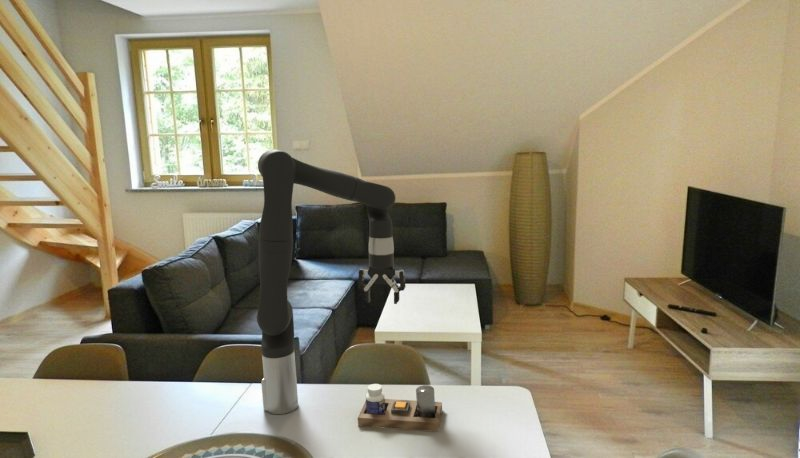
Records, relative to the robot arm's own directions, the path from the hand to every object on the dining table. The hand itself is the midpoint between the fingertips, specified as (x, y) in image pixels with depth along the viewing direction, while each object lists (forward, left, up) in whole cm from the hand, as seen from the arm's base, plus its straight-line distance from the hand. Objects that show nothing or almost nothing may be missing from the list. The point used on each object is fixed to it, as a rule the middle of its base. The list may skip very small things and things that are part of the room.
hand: (382, 302), depth 164 cm
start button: (+8, -18, -25) cm, 32 cm away
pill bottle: (+1, -18, -28) cm, 33 cm away
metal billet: (+15, -18, -27) cm, 36 cm away
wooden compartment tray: (+8, -18, -28) cm, 34 cm away
